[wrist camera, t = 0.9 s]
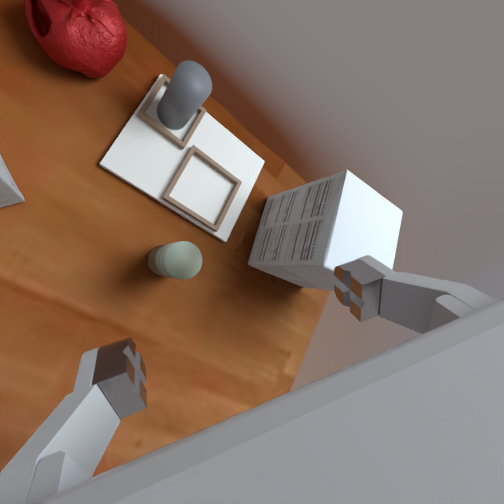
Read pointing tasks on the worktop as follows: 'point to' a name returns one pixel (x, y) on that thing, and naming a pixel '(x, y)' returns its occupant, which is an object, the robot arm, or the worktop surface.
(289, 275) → the supplement box
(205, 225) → the board
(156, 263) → the sage pin
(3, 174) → the skincare box
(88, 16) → the pomegranate
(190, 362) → the worktop surface
